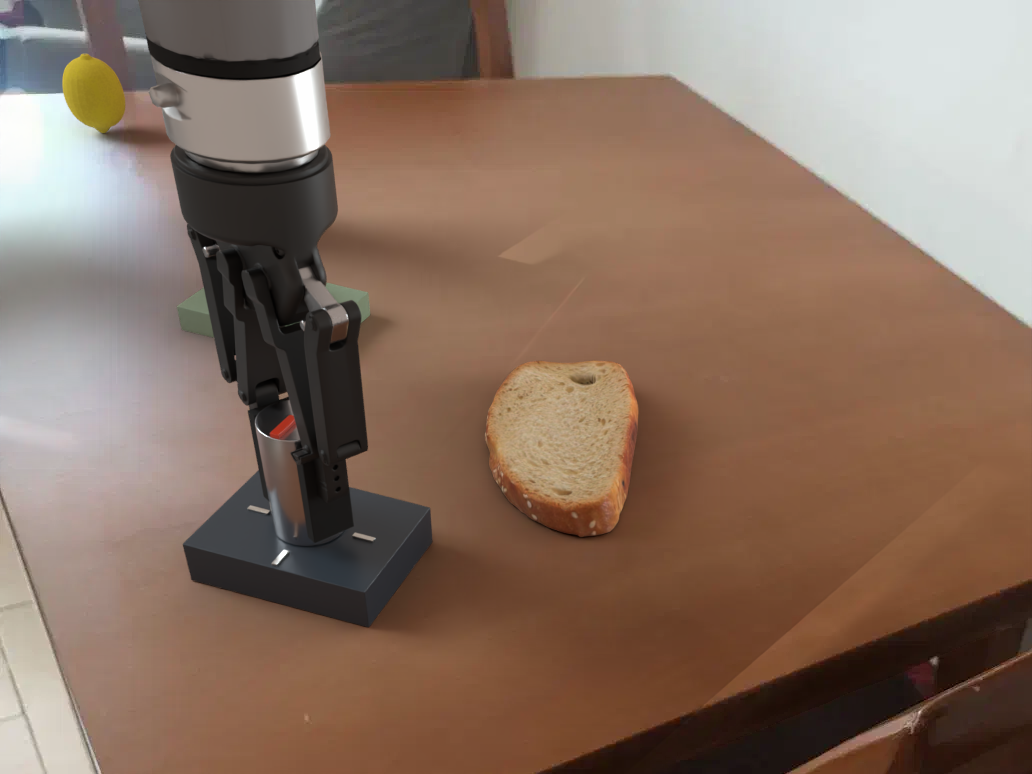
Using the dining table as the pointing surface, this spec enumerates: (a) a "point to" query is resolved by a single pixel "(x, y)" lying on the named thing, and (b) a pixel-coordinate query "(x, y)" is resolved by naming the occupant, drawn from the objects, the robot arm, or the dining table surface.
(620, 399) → the slice of bread
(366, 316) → the button block
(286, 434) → the metal dial knob
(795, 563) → the dining table surface
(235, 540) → the panel
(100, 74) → the lemon
